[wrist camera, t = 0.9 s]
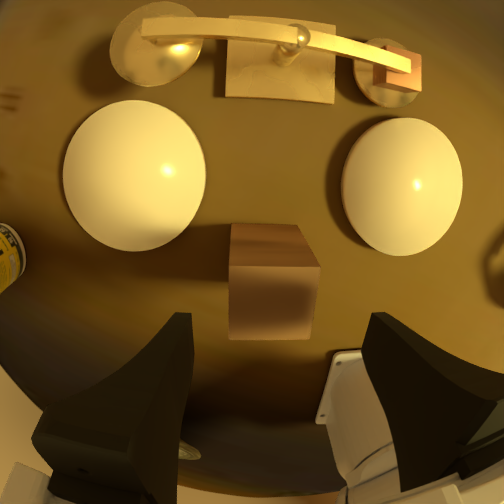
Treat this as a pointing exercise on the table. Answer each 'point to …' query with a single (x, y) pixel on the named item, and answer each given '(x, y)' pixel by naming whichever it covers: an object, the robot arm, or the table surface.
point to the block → (271, 283)
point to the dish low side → (401, 186)
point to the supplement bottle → (10, 256)
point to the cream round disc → (134, 175)
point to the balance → (262, 56)
